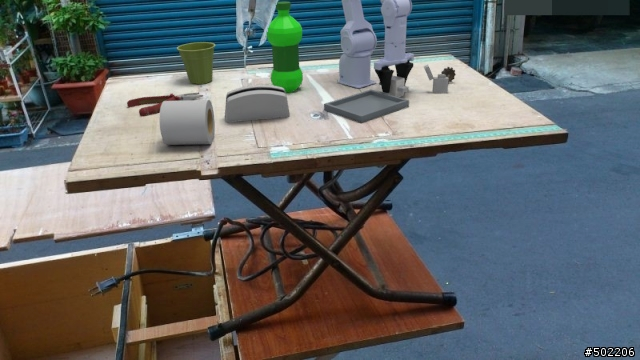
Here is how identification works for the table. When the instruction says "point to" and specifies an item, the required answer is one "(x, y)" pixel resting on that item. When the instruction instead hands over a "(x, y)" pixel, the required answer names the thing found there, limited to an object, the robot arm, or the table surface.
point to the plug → (397, 86)
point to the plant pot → (198, 61)
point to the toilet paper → (187, 122)
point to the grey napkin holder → (256, 103)
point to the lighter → (438, 81)
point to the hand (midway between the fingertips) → (393, 89)
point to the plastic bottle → (285, 49)
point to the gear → (449, 73)
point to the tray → (366, 105)
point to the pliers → (156, 100)
